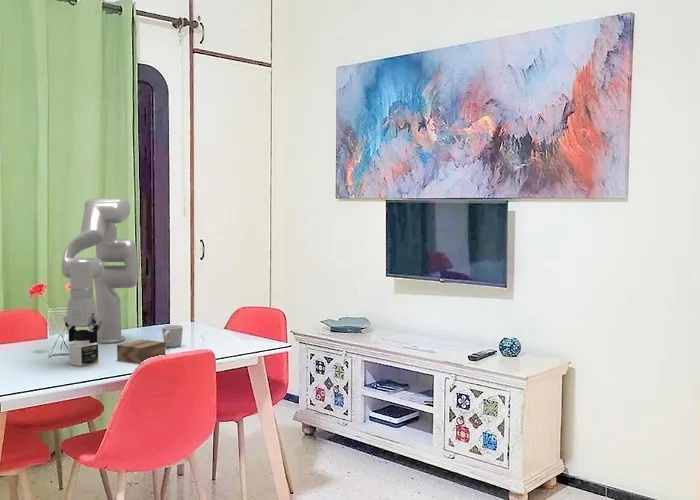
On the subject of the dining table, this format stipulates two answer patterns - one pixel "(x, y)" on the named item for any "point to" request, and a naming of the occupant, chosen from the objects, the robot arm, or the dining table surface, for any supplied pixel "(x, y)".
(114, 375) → the dining table surface
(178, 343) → the cup
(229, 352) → the dining table surface
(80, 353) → the medicine bottle
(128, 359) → the walnut block
